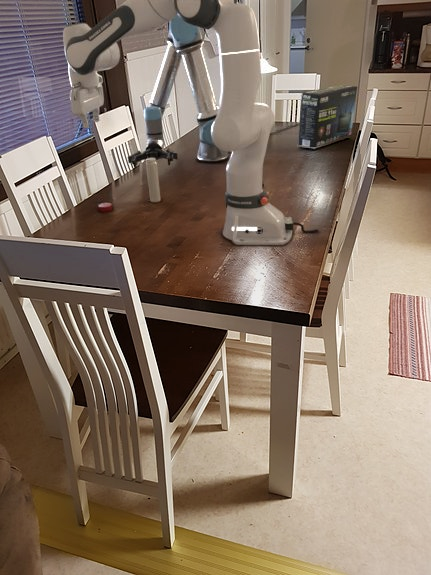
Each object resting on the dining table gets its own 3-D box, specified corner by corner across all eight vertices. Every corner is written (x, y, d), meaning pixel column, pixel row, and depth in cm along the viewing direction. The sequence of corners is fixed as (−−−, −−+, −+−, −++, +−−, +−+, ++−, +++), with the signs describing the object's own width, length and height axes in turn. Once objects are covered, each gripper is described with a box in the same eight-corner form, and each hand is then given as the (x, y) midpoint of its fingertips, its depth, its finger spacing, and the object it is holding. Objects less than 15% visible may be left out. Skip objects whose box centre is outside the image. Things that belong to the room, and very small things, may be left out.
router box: (314, 151, 231) (318, 94, 217) (296, 148, 237) (299, 92, 224) (352, 138, 251) (358, 85, 238) (335, 135, 258) (340, 83, 245)
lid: (99, 207, 174) (98, 203, 173) (112, 206, 175) (111, 201, 174) (99, 212, 170) (98, 207, 169) (112, 211, 171) (111, 206, 170)
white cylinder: (156, 202, 177) (152, 160, 168) (148, 201, 178) (143, 159, 170) (162, 199, 180) (158, 157, 171) (153, 197, 181) (149, 156, 173)
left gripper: (184, 155, 201) (184, 170, 183) (127, 160, 201) (121, 175, 183) (182, 138, 197) (182, 151, 179) (124, 143, 197) (118, 156, 179)
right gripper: (81, 84, 140) (89, 131, 147) (103, 76, 158) (110, 118, 165) (61, 85, 141) (70, 131, 148) (86, 76, 158) (93, 118, 166)
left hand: (151, 163), depth 181 cm, fingers open, 13 cm apart
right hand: (91, 124), depth 157 cm, fingers open, 8 cm apart
